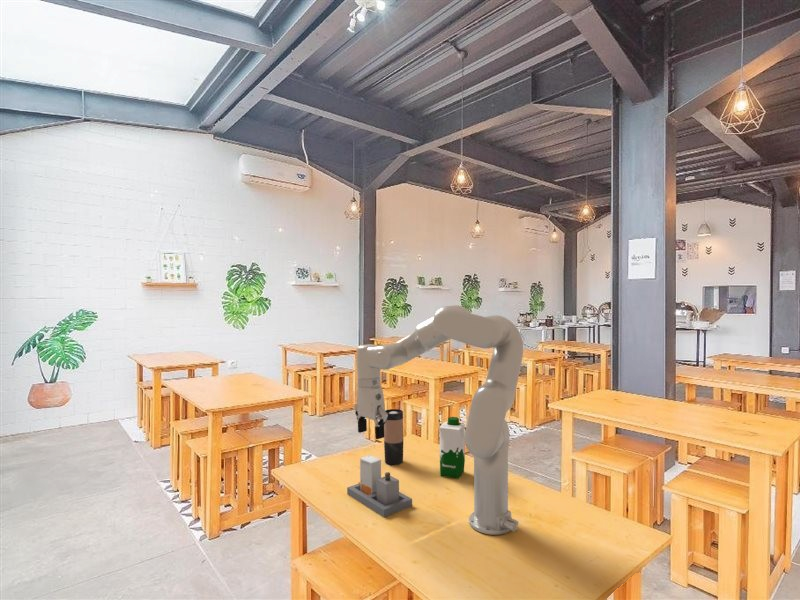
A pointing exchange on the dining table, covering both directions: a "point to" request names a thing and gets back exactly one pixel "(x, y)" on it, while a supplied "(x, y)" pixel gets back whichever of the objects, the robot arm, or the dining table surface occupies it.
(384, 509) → the pdu strip
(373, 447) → the dining table surface
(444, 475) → the milk carton
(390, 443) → the travel mug
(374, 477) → the skincare box
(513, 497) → the dining table surface
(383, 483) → the single plug
